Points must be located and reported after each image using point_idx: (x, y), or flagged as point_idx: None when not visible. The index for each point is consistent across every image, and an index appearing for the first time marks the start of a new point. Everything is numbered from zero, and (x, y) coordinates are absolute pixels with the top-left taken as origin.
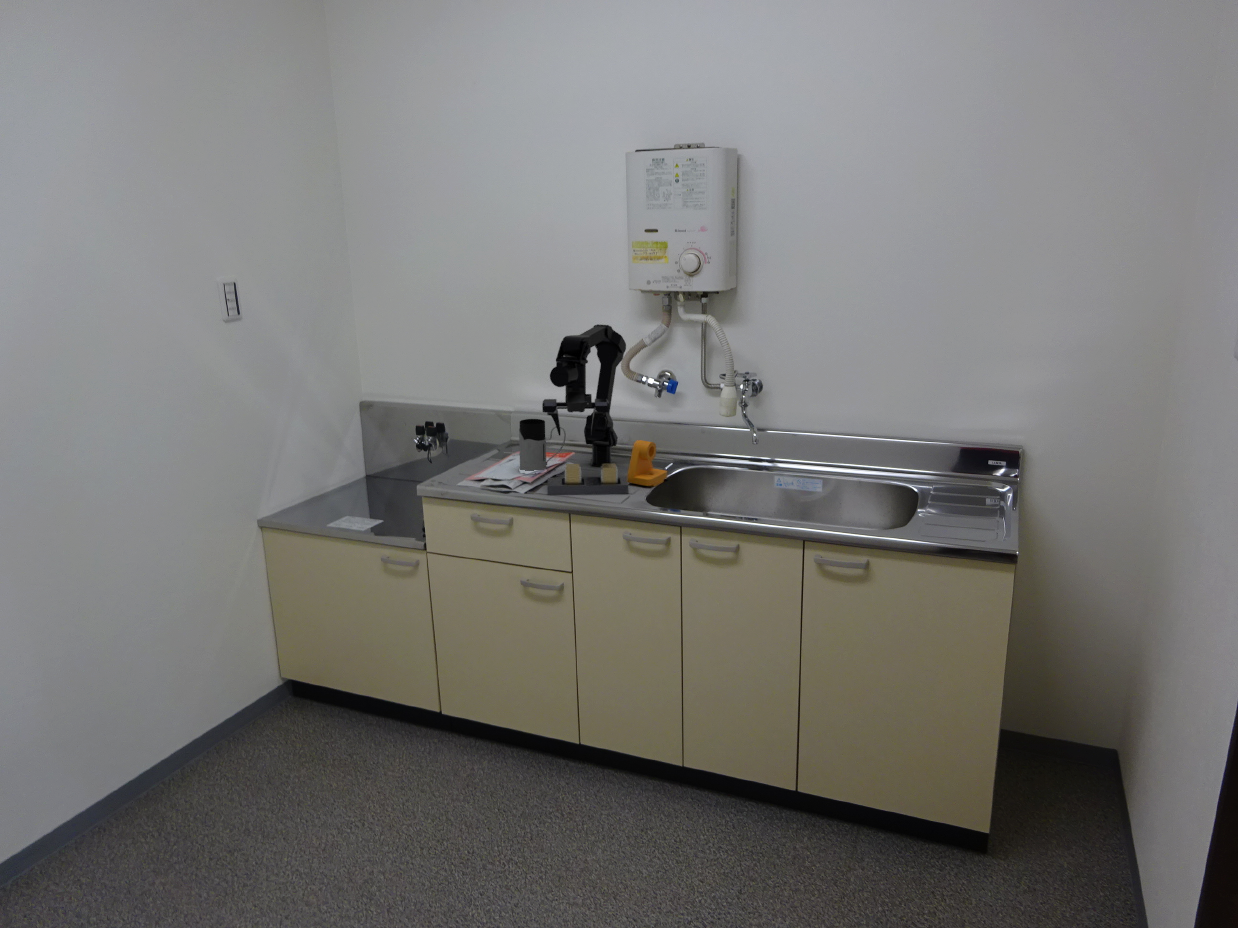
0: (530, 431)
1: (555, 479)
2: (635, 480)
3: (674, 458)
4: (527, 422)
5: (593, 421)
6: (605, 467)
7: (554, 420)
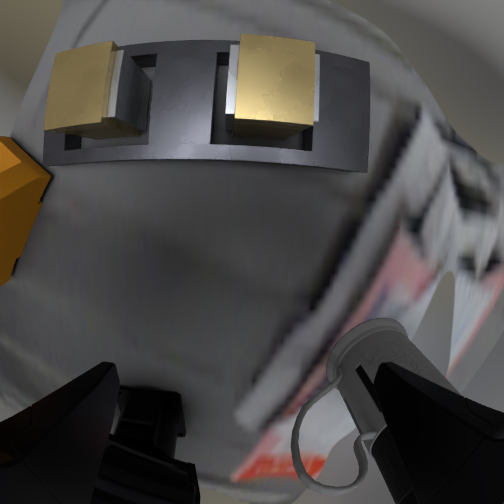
0: None
1: (339, 140)
2: (24, 158)
3: (5, 402)
4: None
5: (33, 436)
6: (99, 51)
7: (500, 415)
